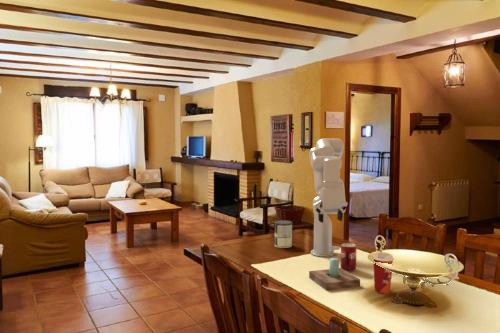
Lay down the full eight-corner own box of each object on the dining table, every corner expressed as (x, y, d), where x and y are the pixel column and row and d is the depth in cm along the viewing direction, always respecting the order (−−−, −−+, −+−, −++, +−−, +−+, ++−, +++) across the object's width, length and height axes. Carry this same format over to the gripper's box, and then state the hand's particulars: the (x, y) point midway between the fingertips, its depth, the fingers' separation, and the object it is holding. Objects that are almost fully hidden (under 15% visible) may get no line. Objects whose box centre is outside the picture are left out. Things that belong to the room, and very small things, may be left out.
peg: (335, 279, 181) (336, 257, 180) (340, 283, 177) (340, 260, 176) (327, 280, 179) (327, 258, 179) (332, 283, 176) (332, 261, 175)
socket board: (340, 274, 188) (340, 268, 188) (360, 286, 173) (360, 279, 173) (309, 277, 183) (309, 271, 183) (326, 290, 168) (326, 283, 168)
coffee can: (270, 245, 239) (270, 221, 238) (282, 242, 246) (282, 219, 245) (283, 249, 231) (283, 224, 230) (295, 245, 238) (295, 222, 237)
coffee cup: (390, 295, 162) (391, 258, 161) (369, 291, 167) (370, 255, 166) (395, 289, 169) (396, 253, 168) (375, 285, 174) (375, 250, 173)
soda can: (357, 268, 197) (357, 244, 196) (354, 273, 190) (355, 247, 189) (342, 266, 200) (342, 242, 199) (338, 270, 193) (339, 245, 192)
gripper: (343, 182, 194) (342, 217, 196) (310, 184, 189) (309, 220, 191) (352, 185, 187) (351, 221, 189) (318, 187, 182) (317, 224, 184)
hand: (330, 221), depth 190 cm, fingers open, 9 cm apart
